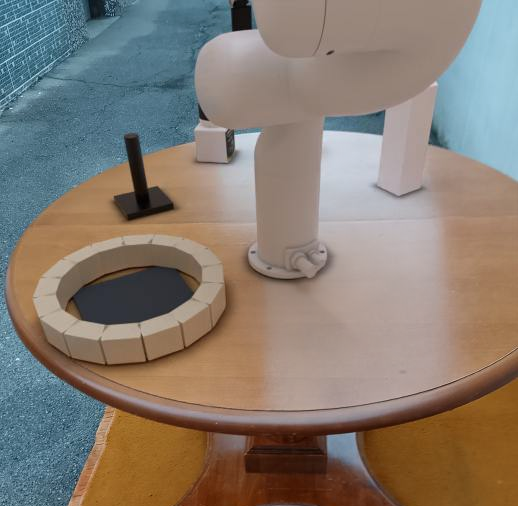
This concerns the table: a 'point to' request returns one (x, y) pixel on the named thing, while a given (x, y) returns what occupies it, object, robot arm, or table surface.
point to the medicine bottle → (213, 141)
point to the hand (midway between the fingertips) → (258, 43)
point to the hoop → (134, 334)
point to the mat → (133, 297)
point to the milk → (406, 143)
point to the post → (140, 186)
